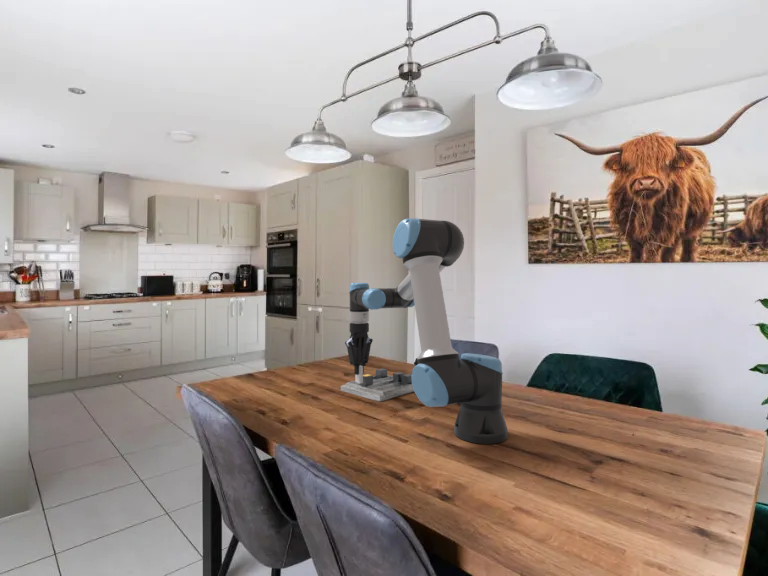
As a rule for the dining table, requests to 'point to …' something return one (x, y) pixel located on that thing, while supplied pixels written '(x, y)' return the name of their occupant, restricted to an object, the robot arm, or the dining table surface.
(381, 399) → the panel
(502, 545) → the dining table surface
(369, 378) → the toggle
